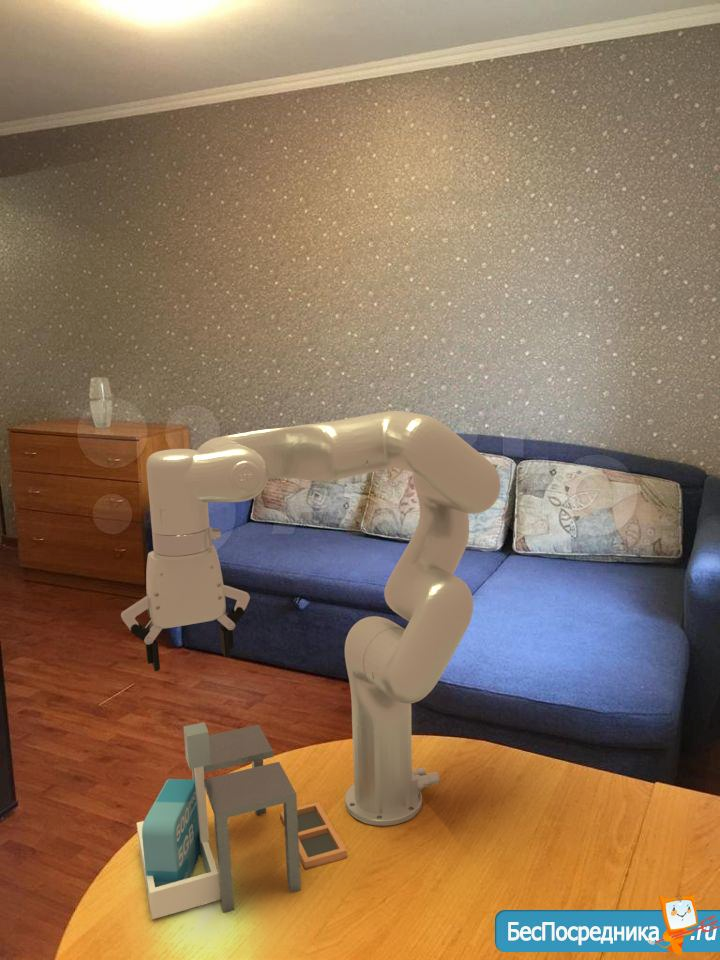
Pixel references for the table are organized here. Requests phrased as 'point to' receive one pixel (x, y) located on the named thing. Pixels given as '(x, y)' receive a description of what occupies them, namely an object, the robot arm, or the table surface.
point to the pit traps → (316, 837)
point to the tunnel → (248, 798)
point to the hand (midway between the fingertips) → (191, 660)
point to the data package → (172, 833)
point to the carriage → (206, 884)
